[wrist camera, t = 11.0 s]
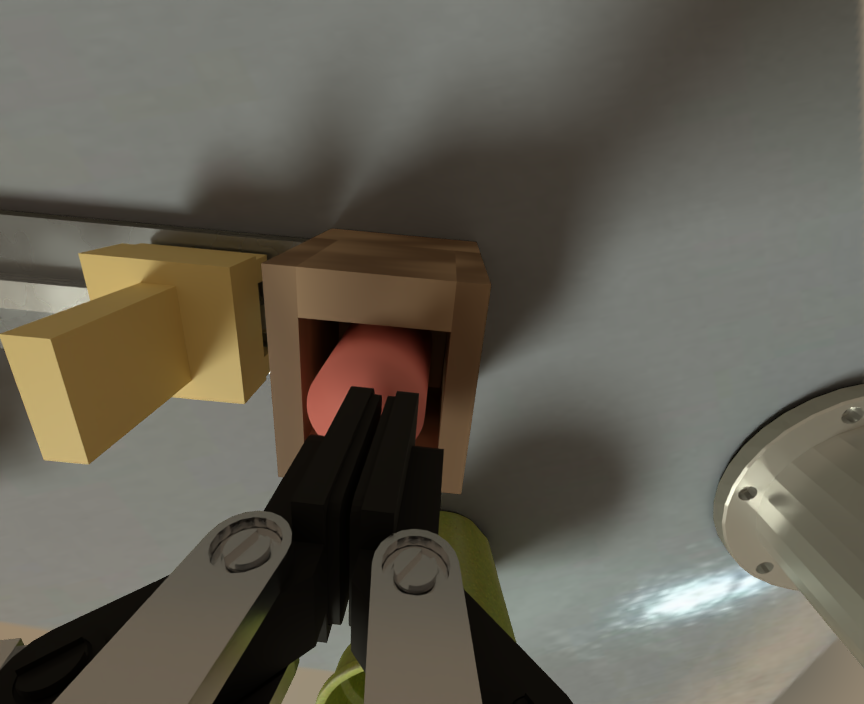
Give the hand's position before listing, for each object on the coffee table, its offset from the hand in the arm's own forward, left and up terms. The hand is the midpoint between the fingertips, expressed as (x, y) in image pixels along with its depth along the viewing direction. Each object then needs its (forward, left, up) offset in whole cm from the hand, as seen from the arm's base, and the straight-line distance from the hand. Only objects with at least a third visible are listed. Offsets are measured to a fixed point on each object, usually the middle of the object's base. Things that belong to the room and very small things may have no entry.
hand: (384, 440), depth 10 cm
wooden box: (+1, 0, -9) cm, 9 cm away
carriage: (+8, 0, -8) cm, 11 cm away
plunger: (+1, 0, -6) cm, 6 cm away
